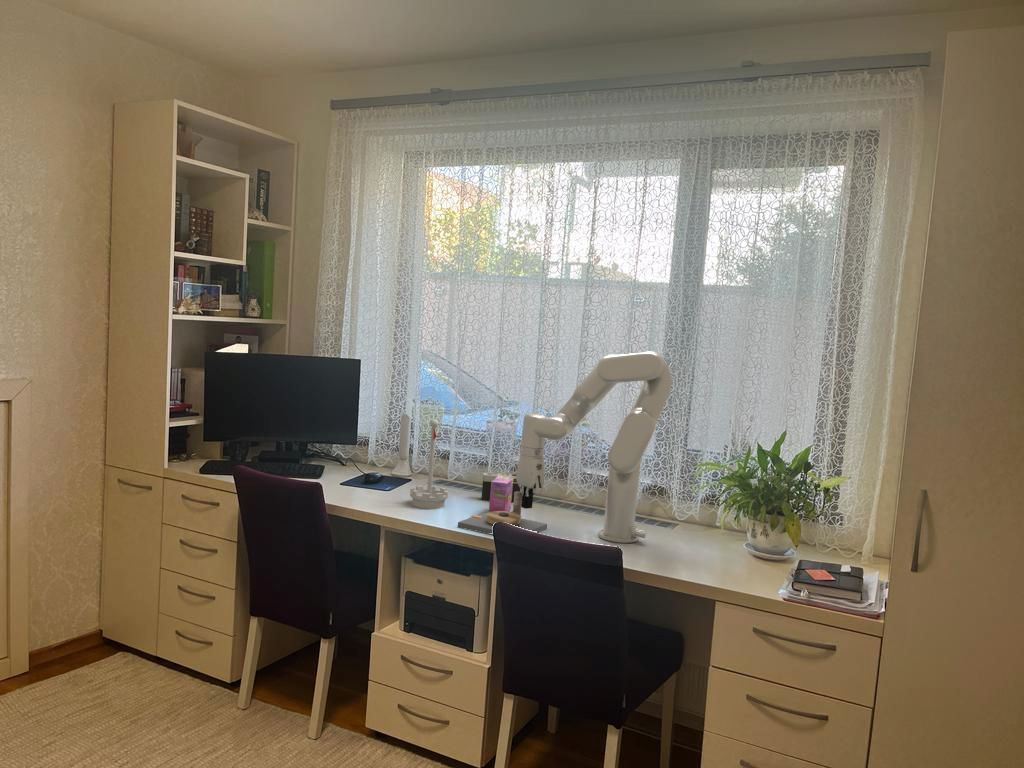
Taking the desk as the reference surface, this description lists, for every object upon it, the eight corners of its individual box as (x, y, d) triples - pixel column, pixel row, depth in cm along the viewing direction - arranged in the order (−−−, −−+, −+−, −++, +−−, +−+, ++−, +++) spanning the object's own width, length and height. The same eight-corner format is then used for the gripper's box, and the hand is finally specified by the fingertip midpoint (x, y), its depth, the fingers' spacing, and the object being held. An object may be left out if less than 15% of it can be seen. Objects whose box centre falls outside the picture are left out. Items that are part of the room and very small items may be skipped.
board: (549, 527, 261) (549, 521, 261) (519, 540, 243) (519, 534, 242) (489, 514, 272) (489, 509, 271) (456, 526, 253) (456, 520, 253)
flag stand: (406, 500, 283) (412, 416, 281) (442, 500, 287) (448, 417, 285) (413, 509, 271) (419, 421, 268) (451, 509, 275) (457, 422, 272)
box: (504, 517, 269) (507, 483, 268) (488, 515, 270) (490, 481, 269) (511, 511, 279) (513, 477, 278) (495, 509, 280) (497, 475, 279)
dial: (510, 528, 248) (512, 502, 248) (479, 521, 254) (481, 496, 253) (533, 518, 262) (535, 494, 262) (503, 512, 268) (505, 489, 267)
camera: (481, 503, 288) (483, 475, 287) (481, 497, 296) (483, 471, 295) (520, 505, 289) (522, 478, 288) (518, 500, 297) (520, 473, 296)
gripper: (554, 456, 255) (549, 513, 256) (529, 447, 267) (523, 501, 269) (535, 456, 251) (529, 514, 252) (510, 447, 263) (504, 502, 265)
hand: (526, 507), depth 260 cm, fingers closed
